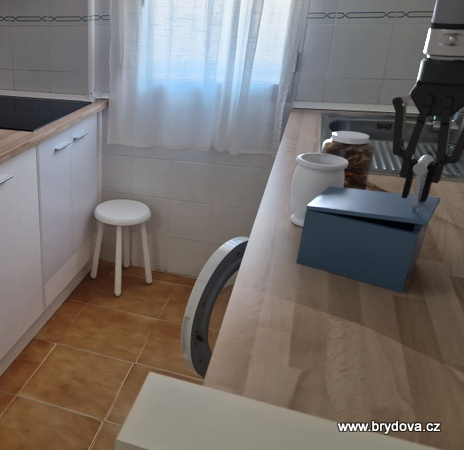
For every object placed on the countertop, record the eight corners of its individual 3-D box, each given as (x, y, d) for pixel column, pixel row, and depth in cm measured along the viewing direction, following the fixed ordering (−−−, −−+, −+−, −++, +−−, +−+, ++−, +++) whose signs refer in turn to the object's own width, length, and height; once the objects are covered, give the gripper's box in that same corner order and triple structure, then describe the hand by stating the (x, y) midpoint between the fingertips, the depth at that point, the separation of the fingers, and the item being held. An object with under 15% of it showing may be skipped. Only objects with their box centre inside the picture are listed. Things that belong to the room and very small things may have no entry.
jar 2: (330, 180, 150) (341, 127, 144) (372, 192, 141) (386, 136, 135) (305, 188, 143) (315, 133, 138) (347, 201, 135) (360, 142, 129)
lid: (439, 201, 98) (447, 151, 95) (427, 225, 88) (435, 169, 85) (328, 190, 110) (332, 144, 107) (306, 209, 100) (309, 160, 97)
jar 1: (331, 235, 116) (345, 168, 110) (281, 225, 121) (292, 161, 115) (337, 219, 124) (351, 156, 118) (290, 210, 129) (301, 149, 123)
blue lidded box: (416, 264, 104) (431, 211, 99) (401, 292, 94) (418, 235, 90) (318, 239, 114) (328, 190, 110) (296, 262, 105) (306, 209, 100)
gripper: (391, 56, 87) (361, 194, 96) (509, 62, 78) (464, 214, 87) (400, 53, 92) (371, 183, 102) (512, 58, 83) (469, 201, 93)
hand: (414, 197), depth 94 cm, fingers open, 2 cm apart
